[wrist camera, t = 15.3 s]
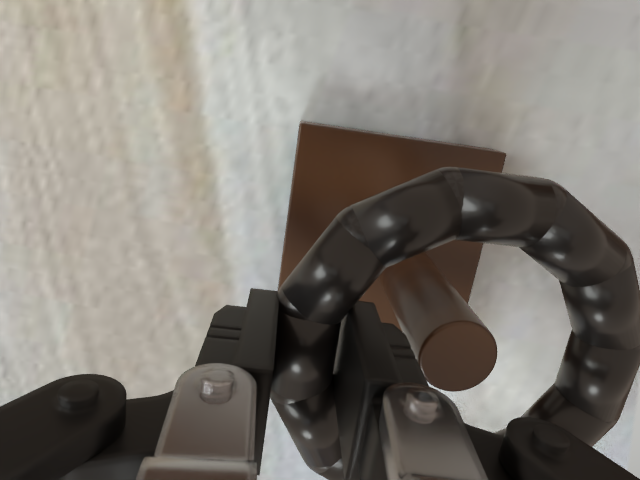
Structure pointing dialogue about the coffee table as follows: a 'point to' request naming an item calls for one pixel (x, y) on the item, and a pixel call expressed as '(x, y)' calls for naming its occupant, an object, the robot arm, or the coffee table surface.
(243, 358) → the robot arm
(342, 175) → the rack
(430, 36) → the coffee table surface
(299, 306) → the beaded ring
